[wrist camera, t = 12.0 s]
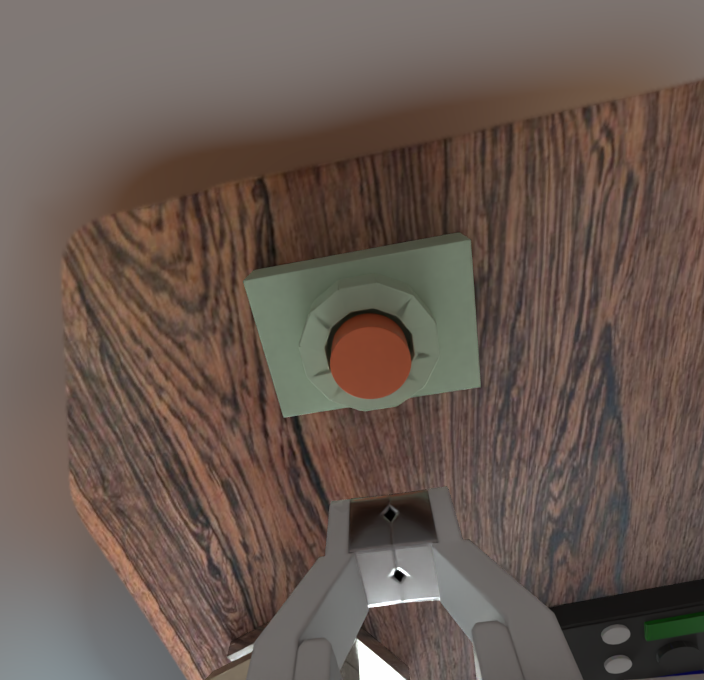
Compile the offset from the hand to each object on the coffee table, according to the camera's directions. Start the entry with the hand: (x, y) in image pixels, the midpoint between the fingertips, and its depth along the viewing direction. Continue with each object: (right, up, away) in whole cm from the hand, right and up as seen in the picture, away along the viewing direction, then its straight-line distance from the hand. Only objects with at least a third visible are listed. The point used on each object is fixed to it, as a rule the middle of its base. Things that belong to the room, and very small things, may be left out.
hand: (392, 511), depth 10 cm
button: (0, +4, +9) cm, 10 cm away
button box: (0, +5, +12) cm, 14 cm away
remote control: (+26, -19, +23) cm, 40 cm away
